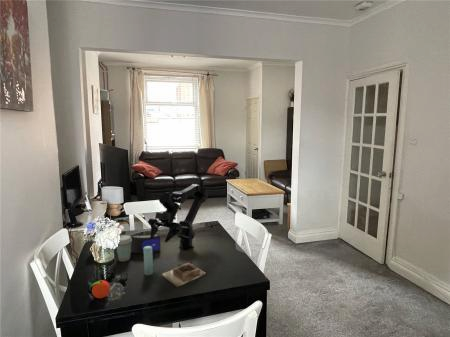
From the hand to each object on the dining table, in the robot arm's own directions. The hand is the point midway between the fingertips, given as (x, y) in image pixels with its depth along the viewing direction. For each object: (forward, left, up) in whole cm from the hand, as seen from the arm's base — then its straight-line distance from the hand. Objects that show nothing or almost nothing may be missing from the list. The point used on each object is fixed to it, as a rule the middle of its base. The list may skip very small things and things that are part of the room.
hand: (158, 240), depth 147 cm
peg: (+7, +3, -13) cm, 16 cm away
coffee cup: (+10, -19, -14) cm, 26 cm away
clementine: (+32, +8, -14) cm, 36 cm away
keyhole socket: (-4, +16, -13) cm, 22 cm away
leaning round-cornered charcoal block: (-3, -20, -14) cm, 25 cm away
